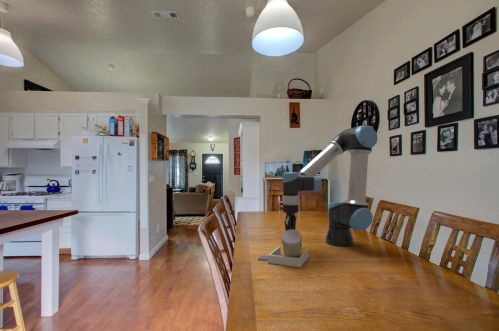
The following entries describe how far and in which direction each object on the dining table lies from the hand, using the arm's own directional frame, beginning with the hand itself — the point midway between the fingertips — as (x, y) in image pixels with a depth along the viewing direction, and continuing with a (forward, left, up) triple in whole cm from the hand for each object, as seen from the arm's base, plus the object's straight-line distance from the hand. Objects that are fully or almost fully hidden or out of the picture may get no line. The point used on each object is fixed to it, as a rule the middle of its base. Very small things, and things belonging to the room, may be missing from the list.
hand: (290, 252), depth 132 cm
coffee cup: (-2, +4, 0) cm, 4 cm away
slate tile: (+10, +8, -2) cm, 13 cm away
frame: (-1, +5, -2) cm, 6 cm away
